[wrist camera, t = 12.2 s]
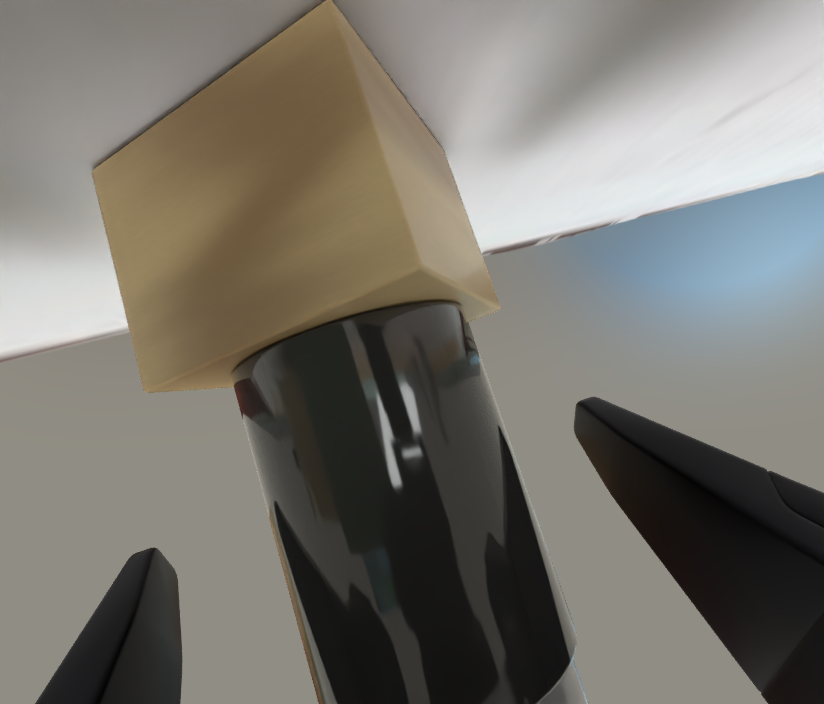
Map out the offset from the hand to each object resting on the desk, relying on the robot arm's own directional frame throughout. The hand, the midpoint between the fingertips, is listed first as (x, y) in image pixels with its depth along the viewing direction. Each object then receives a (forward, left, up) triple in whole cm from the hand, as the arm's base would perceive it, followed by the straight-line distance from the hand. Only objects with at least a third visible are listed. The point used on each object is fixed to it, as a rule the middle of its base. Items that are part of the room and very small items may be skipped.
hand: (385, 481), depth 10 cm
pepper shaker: (-1, -1, -3) cm, 3 cm away
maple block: (-1, -1, -7) cm, 7 cm away
